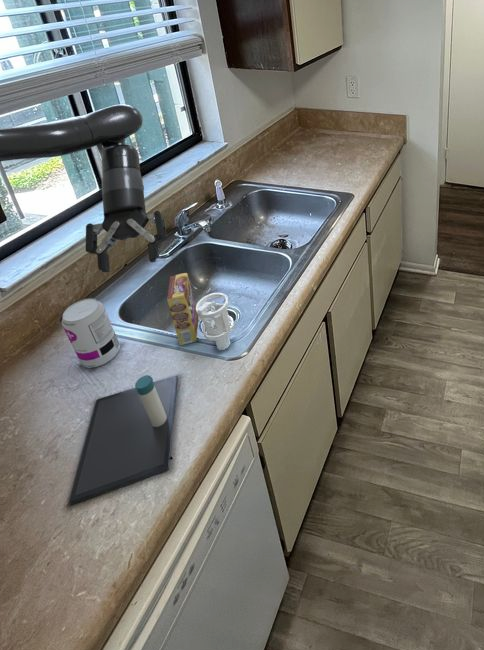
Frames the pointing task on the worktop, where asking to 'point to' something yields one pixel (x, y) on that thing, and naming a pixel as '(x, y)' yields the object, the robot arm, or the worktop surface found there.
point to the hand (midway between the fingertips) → (129, 266)
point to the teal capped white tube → (151, 400)
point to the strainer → (216, 320)
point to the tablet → (124, 442)
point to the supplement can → (90, 332)
